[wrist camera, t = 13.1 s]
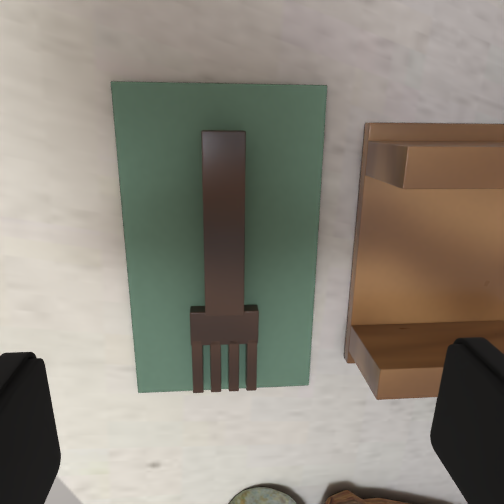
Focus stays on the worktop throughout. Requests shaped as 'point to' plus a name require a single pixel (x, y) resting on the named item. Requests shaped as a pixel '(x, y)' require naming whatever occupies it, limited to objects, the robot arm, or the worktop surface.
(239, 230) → the fork
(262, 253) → the mat
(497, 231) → the rack
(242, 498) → the soupspoon
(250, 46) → the worktop surface
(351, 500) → the meat cleaver
